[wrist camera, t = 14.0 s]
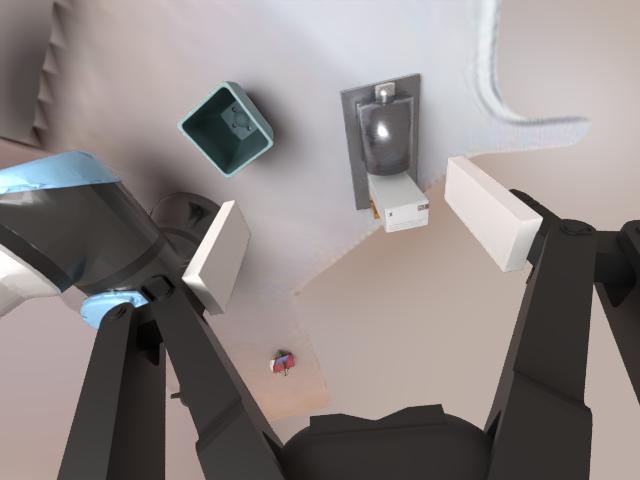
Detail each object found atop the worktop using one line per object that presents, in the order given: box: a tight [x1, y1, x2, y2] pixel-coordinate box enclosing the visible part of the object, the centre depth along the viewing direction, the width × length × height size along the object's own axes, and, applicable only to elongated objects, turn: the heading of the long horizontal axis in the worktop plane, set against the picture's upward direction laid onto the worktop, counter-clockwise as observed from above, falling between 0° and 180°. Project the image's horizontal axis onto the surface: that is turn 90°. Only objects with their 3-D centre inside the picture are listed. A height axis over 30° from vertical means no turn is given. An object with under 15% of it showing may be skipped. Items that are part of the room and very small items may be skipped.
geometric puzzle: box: [270, 351, 295, 375], centre depth 80 cm, size 7×7×8 cm
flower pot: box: [177, 81, 273, 178], centre depth 36 cm, size 9×9×9 cm
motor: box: [340, 73, 419, 219], centre depth 40 cm, size 11×20×8 cm, turn 12°
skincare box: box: [368, 171, 429, 233], centre depth 39 cm, size 6×4×12 cm
